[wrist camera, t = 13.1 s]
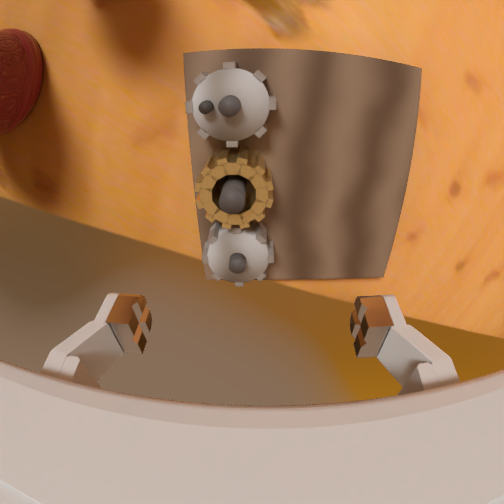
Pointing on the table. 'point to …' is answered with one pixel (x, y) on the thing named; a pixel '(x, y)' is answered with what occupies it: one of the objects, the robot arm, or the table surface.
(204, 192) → the brass gear
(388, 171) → the gear board
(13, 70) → the canister
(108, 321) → the robot arm
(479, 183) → the table surface
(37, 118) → the table surface
